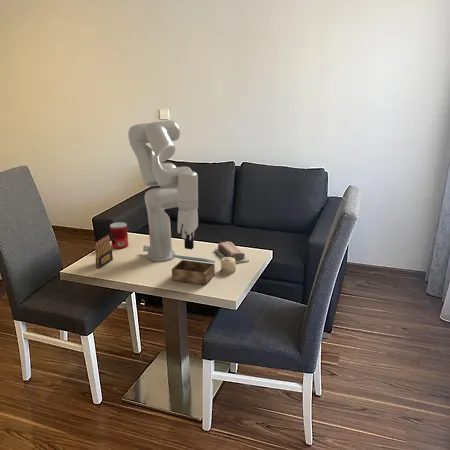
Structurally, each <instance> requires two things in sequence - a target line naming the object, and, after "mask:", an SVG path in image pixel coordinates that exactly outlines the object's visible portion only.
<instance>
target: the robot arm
mask: <svg viewBox="0 0 450 450" xmlns="http://www.w3.org/2000/svg"><path fill="white" fill-rule="evenodd" d="M127 135H128V136H127V137H128V141H129V145H130V147H131V150H132V151H133V153H134V154H135V156H136V159H137V162H138V165H139V171H140V174H141V178H142V181H143V183H144V184H145V186H147V187H156V188H152V189H149V190H147V191H145V193H144V203H145V207H146V211H147V220H148V222H147V223H148V234H149V245H146V244H145V245H142V246H143V247H142V250H143V252H147V259H148V260H150V261H152V262H167V261H170V260H172V259H174V258H175V257H173V255H176V252H175V251H174V250H173V249H172V247H173V246H172V231H171V230H172V229H171V219H170V215H168V213H167V212H166V211H165V210H167V209H174V208H178V212H177V225H176V226H177V234H178V235H180V234H181V239H183V240H184V241H183V242H184V249H185V250H191V251H192V250H193V249H194V248H195V247H194V245H195V244H194V242H195V241H194V238H195V232H196V230H197V228H198V227H199V214H198V213H199V212H198V209H199V176H198V173H197V172H195V171H193V170H192V169H191V167H189V166H176V165H175V164H174V163H171V162H166V161H168V160H169V159H171V158H172V157H173V156H174V155H175V153H176V146H175V143H173V142H175V141H178V140H179V138H180V136H181V130H180V127H179V125H178V123H177V122H175V121H173V120H164V121H163V120H162V121H152V122H146V123H145V122H144V123H137V124H134V125H132V126H130V127H129V129H128V134H127ZM148 144H149V145H150V146H149V145H148ZM157 186H159V187H157Z"/></svg>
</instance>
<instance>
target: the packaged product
mask: <svg viewBox="0 0 450 450" xmlns="http://www.w3.org/2000/svg"><path fill="white" fill-rule="evenodd" d="M214 252H215V253H216V255H217V256H218V257H219V258H221V259H222V258H224V257H232V258H235V265H237V264H244V263H248V262H250V259H249V258H247V257H246V254H245V253H244V252H243V251H242V250H241V249H240V248H239V247H238V246H236V245H235V244H234V243H233V242H232V241H222V242H219V243H217V248H214Z"/></svg>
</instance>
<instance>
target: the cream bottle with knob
mask: <svg viewBox="0 0 450 450" xmlns="http://www.w3.org/2000/svg"><path fill="white" fill-rule="evenodd" d="M220 272H221V274H227V275H229V274H235V272H236V264H235V258H232V257H224V258H222V259H221V260H220Z"/></svg>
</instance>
